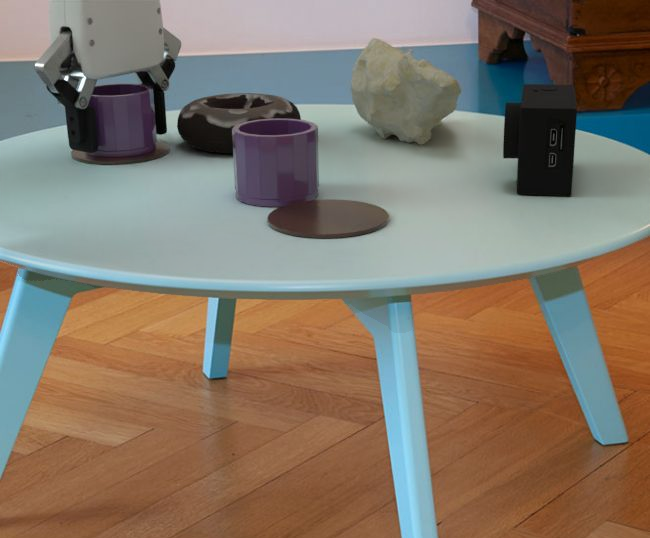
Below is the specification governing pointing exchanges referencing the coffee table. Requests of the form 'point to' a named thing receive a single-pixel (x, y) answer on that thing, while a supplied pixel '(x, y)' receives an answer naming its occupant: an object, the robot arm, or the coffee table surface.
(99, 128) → the ramekin
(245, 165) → the ramekin
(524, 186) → the digital camera
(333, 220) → the coaster
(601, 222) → the coffee table surface
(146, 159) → the coaster
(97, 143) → the robot arm
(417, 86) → the pale rock
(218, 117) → the donut
